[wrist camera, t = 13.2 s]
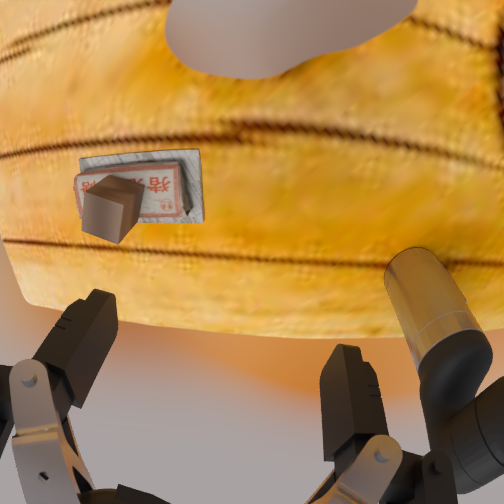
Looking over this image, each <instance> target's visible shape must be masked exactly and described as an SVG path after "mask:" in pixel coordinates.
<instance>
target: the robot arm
mask: <svg viewBox="0 0 504 504" xmlns="http://www.w3.org/2000/svg"><path fill="white" fill-rule="evenodd" d="M384 284H385V286H386V289H387V292H388V294H389V296H390V299H391V301H392V304H393V307H394V309H395V312H396V314H397V317H398V319H399V322H400V325H401V327H402V330H403V333H404V335H405V338H406V341H407V344H408V346H409V349H410V352H411V355H412V358H413V360H414V363H415V366H416V369H417V372H418V375H419V379H420V400H421V403H422V408H423V413H424V417H425V422H426V428H427V433H428V439H429V445H430V449H431V451H430V452H428V453H427V454H426V455H424V456H420V455H417V454H413V453H410V452H406V451H403V450H402V449H401V447H400V445H399V443H398V442H397V441H396V440H395V439H393V438H392V437H390V436H389V433H388V429H387V423H386V417H385V412H384V407H383V403H382V398H381V393H380V389H379V388H378V387H379V384H378V380H377V375H376V373H375V371H374V369H373V368H372V366H371V365H370V363H369V362H363V360H362V355H361V350H360V348H359V347H358V346H351V345H344V344H338V345H337V346H336V348H335V349H334V351H333V353H332V354H331V356H330V358H329V360H328V361H327V363H326V365H325V366H324V368H323V370H322V372H321V376H320V397H321V412H322V429H323V449H324V461H333V462H334V463H335V469H334V470H332V472H331V473H330V474H329V475H328V477H327V478H326V479H325V480H324V482H323V483H322V484H321V485H320V486H319V488H318V489H317V490H316V491H315V492H314V494H313V495H312V496H311V497H310V498H309V499H308V501H307V502H306V503H305V504H377V503H378V502H379V504H458V500H457V494H466V493H469V492H472V491H474V490H476V489H478V488H480V487H481V486H484V485H485V484H487V483H489V482H491V481H493V480H494V479H496V478H497V477H499V476H501V475H502V474H504V376H502V377H500V378H499V379H498V380H496V381H495V382H494V383H492V384H491V385H490V386H489V387H487V388H486V389H485V390H484V391H483V392H481V393H480V394H479V395H478V396H477V397H475V395H476V393H477V390H478V388H479V386H480V384H481V383H482V381H483V379H484V377H485V375H486V374H487V372H488V371H489V368H490V366H491V363H492V359H493V352H492V348H491V345H490V344H489V342H488V340H487V338H486V336H485V335H484V333H483V331H482V329H481V328H480V326H479V324H478V322H477V321H476V319H475V317H474V316H473V314H472V313H471V311H470V309H469V308H468V306H467V304H466V299H465V297H464V296H463V294H462V292H461V291H460V289H459V288H458V286H457V285H456V283H455V282H454V280H453V279H452V277H451V276H450V274H449V273H448V271H447V270H446V269H445V267H444V266H443V264H442V263H440V262H439V261H438V260H437V258H436V257H435V256H434V255H433V253H432V252H430V251H429V250H427V249H424V248H411V249H408V250H405V251H403V252H402V253H400V254H398V255H397V256H396V257H395V258H394V259H393V260H392V261H391V262H390V264H389V265H388V267H387V269H386V272H385V275H384ZM117 331H118V317H117V307H116V297H115V295H114V294H112V293H109V292H105V291H102V290H99V289H94V290H93V291H92V292H91V293H90V295H89V296H88V297H87V299H86V300H82V299H78V300H77V301H75V302H74V303H72V304H71V305H69V306H68V307H67V308H66V310H65V311H64V313H63V314H62V315H61V318H60V319H59V320H58V321H57V323H56V324H55V327H53V328H52V330H51V331H50V333H49V334H48V336H47V337H46V339H45V340H44V341H43V343H42V344H41V346H40V348H39V349H38V350H37V352H36V354H35V355H34V356H33V358H32V359H26V360H22V361H20V362H18V363H17V364H16V365H14V366H5V365H0V458H1V455H2V452H3V450H4V448H5V445H6V443H7V440H8V438H9V435H10V433H11V431H12V428H13V426H14V424H15V429H16V435H15V436H13V437H12V449H13V453H14V458H15V463H16V467H17V471H18V475H19V478H20V483H21V486H22V490H23V493H24V497H25V500H26V503H27V504H170V503H168V502H166V501H164V500H162V499H160V498H158V497H156V496H154V495H152V494H149V493H146V492H142V491H139V490H136V489H132V488H130V487H126V486H123V485H120V484H118V487H117V489H97V490H96V489H95V486H94V484H93V482H92V479H91V477H90V474H89V472H88V470H87V468H86V466H85V464H84V462H83V460H82V457H81V455H80V452H79V449H78V446H77V443H76V439H75V436H74V433H73V430H72V426H71V423H70V419H69V415H68V411H69V409H70V407H71V405H73V406H75V407H78V408H80V409H81V408H82V406H83V404H84V402H85V399H86V397H87V395H88V393H89V391H90V389H91V387H92V385H93V382H94V380H95V378H96V376H97V374H98V372H99V370H100V368H101V366H102V364H103V362H104V360H105V358H106V356H107V354H108V352H109V350H110V348H111V346H112V344H113V342H114V340H115V338H116V335H117Z"/></svg>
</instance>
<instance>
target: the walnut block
mask: <svg viewBox="0 0 504 504" xmlns="http://www.w3.org/2000/svg"><path fill="white" fill-rule="evenodd" d="M144 187H145V186H144V185H141V184H138V183H135V182H132V181H129V180H125V179H122V178H119V177H116V176H113V175H110V174H109V175H108V176H106V177H105V178H103V179H102V180H100V181H99V182H98V183H96V184H95V185H93V186H92V187H90V188H89V189H88V190H86V191H85V192H84V202H83V215H82V231H84V232H86V233H89V234H91V235H94V236H97V237H99V238H102V239H105V240H107V241H110V242H113V243H115V244H119V243H120V242H121V241H122V239H123V238H124V237H125V236H126V235H127V233H128V232H129V231H130V230H131V229H132V228H133V226H134V225H135V224H136V223H137V222H138V218H139V213H140V207H141V202H142V197H143V192H144Z"/></svg>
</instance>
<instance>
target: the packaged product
mask: <svg viewBox="0 0 504 504" xmlns="http://www.w3.org/2000/svg"><path fill="white" fill-rule="evenodd" d="M79 163H80V170H81V173H80V174H78V175H76V176H75V178H74V186H73V190H74V191H75V197H76V201H77V202H76V204H77V208H78V211H79V217H80V218H81V219H82V215H83V202H84V192H85V191H86V190H88V189H89V188H90V187H92V186H93V185H95V184H96V183H98V182H99V181H100V180H102V179H103V178H105V177H106V176H108V175H109V174H110V175H113V176H116V177H119V178H122V179H125V180H129V181H132V182H135V183H138V184H141V185H144V186H145V187H144V192H143V197H142V202H141V207H140V213H139V218H138V222H137V223H140V222H143V223H161V222H163V223H203V220H204V206H203V197H202V169H201V160H200V154H199V149H176V150H163V151H151V152H140V153H124V154H116V155H105V156H96V157H91V158H84V159H79Z"/></svg>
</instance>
